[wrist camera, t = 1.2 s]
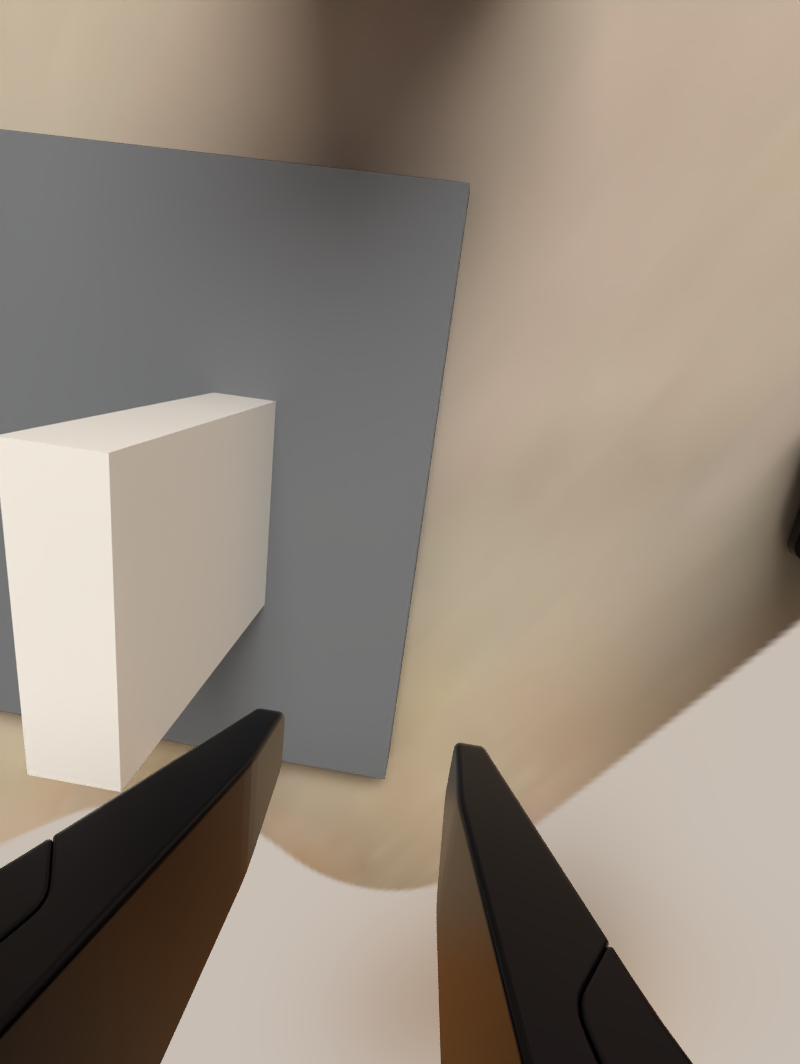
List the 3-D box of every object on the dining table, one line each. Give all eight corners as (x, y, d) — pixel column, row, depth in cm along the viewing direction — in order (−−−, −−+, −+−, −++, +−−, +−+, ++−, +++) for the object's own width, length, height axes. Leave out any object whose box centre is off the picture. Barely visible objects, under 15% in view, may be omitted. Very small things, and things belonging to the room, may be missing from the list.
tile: (276, 401, 18) (108, 452, 10) (264, 604, 20) (120, 792, 12) (205, 391, 18) (-21, 433, 10) (202, 594, 20) (15, 772, 12)
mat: (469, 193, 17) (469, 183, 16) (388, 758, 23) (384, 779, 22) (-172, 119, 18) (-214, 104, 17) (-82, 675, 24) (-109, 691, 23)
